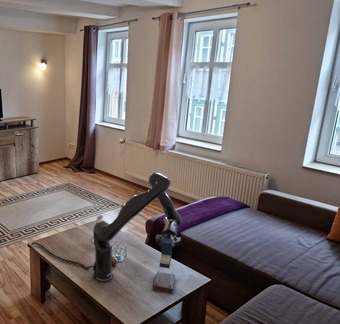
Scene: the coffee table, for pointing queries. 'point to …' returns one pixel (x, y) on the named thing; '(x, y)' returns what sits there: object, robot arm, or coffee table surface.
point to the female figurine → (99, 218)
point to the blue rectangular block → (166, 253)
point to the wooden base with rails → (164, 282)
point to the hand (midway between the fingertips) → (166, 246)
